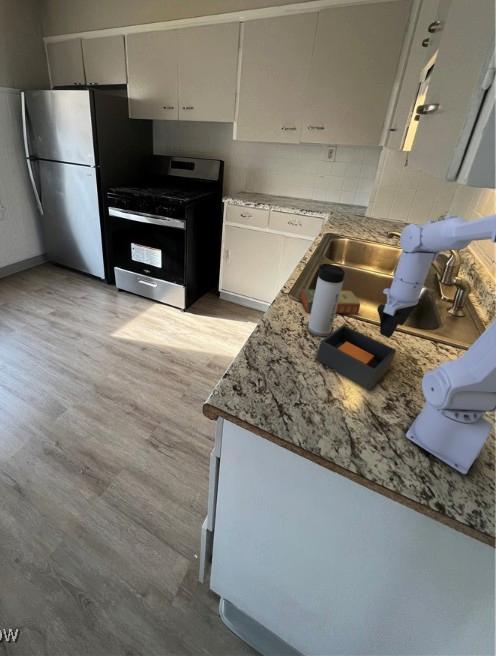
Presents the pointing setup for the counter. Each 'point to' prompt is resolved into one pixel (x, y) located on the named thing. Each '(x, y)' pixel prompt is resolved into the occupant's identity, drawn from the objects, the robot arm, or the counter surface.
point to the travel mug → (326, 299)
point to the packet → (357, 353)
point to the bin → (350, 365)
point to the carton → (345, 303)
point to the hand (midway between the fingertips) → (391, 329)
